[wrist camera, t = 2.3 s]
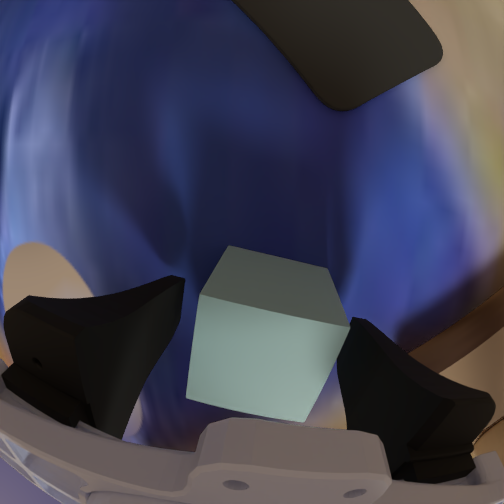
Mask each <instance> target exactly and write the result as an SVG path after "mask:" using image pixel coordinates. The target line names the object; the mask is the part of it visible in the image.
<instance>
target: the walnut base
mask: <svg viewBox="0 0 504 504" xmlns="http://www.w3.org/2000/svg"><path fill="white" fill-rule="evenodd" d="M408 354H409V355H410V356H411V357H413V358H414V359H415V360H417V361H418V362H420V363H421V364H423V365H424V366H426V367H428V368H429V369H431V370H433V371H434V372H436V373H438V374H440V375H442V376H444V377H446V378H448V379H450V380H452V381H455V382H457V383H460V384H462V385H465V386H468V387H471V388H474V389H478V390H481V391H485V392H488V393H489V394H490V395H491V397H492V398H493V400H494V402H495V404H496V409H495V413H494V415H493V417H492V419H491V421H490V422H489V423H488V425H487V426H486V427H485V428H484V429H486V428H487V427H489V426H490V425H491V424H493V423H494V422H496V421H497V420H498V419H500V418H501V417H502V416H504V286H503V287H502V288H501V289H500V290H499V291H497V292H496V293H495V294H494V295H493V296H491V297H490V298H489V299H487V300H486V301H485V302H484V303H482V304H481V305H480V306H478V307H477V308H476V309H474V310H473V311H472V312H470V313H469V314H468V315H466V316H465V317H463V318H462V319H461V320H459V321H458V322H456V323H455V324H453V325H452V326H451V327H449V328H448V329H446V330H445V331H443V332H442V333H440V334H439V335H437V336H435V337H434V338H432V339H431V340H429V341H428V342H426V343H424V344H423V345H421V346H419V347H418V348H416V349H414V350H413V351H411V352H409V353H408Z"/></svg>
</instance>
